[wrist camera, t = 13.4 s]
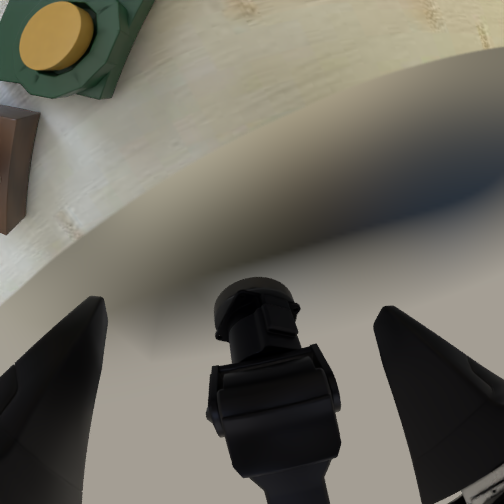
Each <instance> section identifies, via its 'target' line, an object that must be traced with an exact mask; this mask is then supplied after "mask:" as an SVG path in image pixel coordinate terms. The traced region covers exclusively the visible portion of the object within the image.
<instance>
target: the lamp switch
mask: <svg viewBox="0 0 504 504" xmlns="http://www.w3.org/2000/svg"><path fill="white" fill-rule="evenodd" d="M93 32H94V24H93V20H92V18H91V16H90V14H89V13H88V12H87V11H85V10H83V9H82V8H80V7H78V6H76V5H74V4H72V3H70V2H66V1H59V2H54V3H51V4H49V5H47V6H45V7H43V8H42V9H40V10H39V11H38V12H37V13H36V14H35V15H34V16H33V17H32V18H31V19H30V20H29V22H28V23H27V25H26V26H25V28H24V30H23V33H22V36H21V39H20V45H19V51H20V56H21V59H22V61H23V63H24V64H25V65H26V66H27V67H29V68H30V69H33V70H62V69H65V68H67V67H69V66H71V65H72V64H74V63H75V62H76V61H78V60H79V59H80V58H81V57H82V56H83V54H84V53H85V52H86V50H87V49H88V47H89V45H90V43H91V40H92V37H93Z"/></svg>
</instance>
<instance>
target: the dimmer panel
mask: <svg viewBox="0 0 504 504" xmlns="http://www.w3.org/2000/svg"><path fill="white" fill-rule="evenodd" d="M39 116H40V113H39V112H34V111H29V110H25V109H20V108H15V107H10V106H5V105H0V233H2V234H4V235H7V234H8V233H9V232H10V231H11V230H12V229H13V228H14V227H15V226H16V225H17V224H18V223H19V222H20V221H21V220H22V219H24V218H25V215H26V200H27V189H28V179H29V171H30V164H31V157H32V151H33V145H34V140H35V135H36V130H37V125H38V121H39Z"/></svg>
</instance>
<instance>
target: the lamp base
mask: <svg viewBox="0 0 504 504" xmlns="http://www.w3.org/2000/svg"><path fill="white" fill-rule="evenodd" d="M59 1H66V2H70V3H72V4H74V5H76V6H78V7H80V8H82V9H83V10H85V11H87V12H88V13H89V14H90V16H91V18H92V20H93V24H94V32H93V37H92V40H91V43H90V45H89V47H88V49H87V50H86V52H85V53H84V54H83V56H82V57H81V58H80V59H79V60H78V61H76V62H75V63H74V64H72V65H71V66H69V67H67V68H65V69H62V70H33V69H30V68H29V67H27V66H26V65H25V64H24V63H23V61H22V59H21V56H20V51H19V45H20V39H21V36H22V33H23V30H24V28H25V26H26V25H27V23H28V22H29V20H30V19H31V18H32V17H33V16H34V15H35V14H36V13H37V12H38V11H39V10H40V9H42V8H43V7H45V6H47V5H49V4H51V3H54V2H59ZM154 1H155V0H9V3H8V5H7V7H6V9H5V12H4V14H3V16H2V19H1V21H0V81H6V82H14V83H20V84H22V86H23V87H24V88H25V89H26V91H27V92H28V93H29V94H31V95H36V96H41V97H46V98H51V99H54V98H61V97H68V96H71V95H73V94H77V95H82V96H86V97H90V98H94V99H98V100H100V99H107V98H111V97H112V95H113V92H114V90H115V87H116V84H117V82H118V79H119V76H120V74H121V71H122V69H123V66H124V64H125V61H126V59H127V57H128V54H129V52H130V50H131V47H132V45H133V43H134V41H135V39H136V37H137V34H138V32H139V30H140V28H141V26H142V24H143V22H144V20H145V18H146V16H147V14H148V12H149V11H150V9H151V7H152V5H153V3H154Z"/></svg>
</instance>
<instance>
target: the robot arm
mask: <svg viewBox="0 0 504 504" xmlns="http://www.w3.org/2000/svg"><path fill="white" fill-rule="evenodd" d="M241 294H244V295H243V296H240V295H241ZM294 308H296V309H294ZM300 310H301V308H300V305H299V304H298V303H295V302H291V301H287V300H285V299H281V298H277V297H273V296H269V295H265V294H259V293H256V292H252V291H248V290H244V289H241V290H238V291H237V292H236V294H235V296H234V298H233V300H232V302H231V304H230V306H229V308H228V310H227V312H226V314H225V315H224V317H223V319H222V321H221V323H220V325H219V327H218V329H217V331H216V333H215V338H216V339H217V340H219V341H224V342H229V343H230V351H231V359H232V364H229V365H223V366H219V365H217V366H212V372H211V374H210V383H209V397H208V408H207V411H206V417H207V420H209V421H210V422H211V423H213V425H214V427H215V429H216V432H217V434H218V436H219V437H225V439H226V442H227V446H228V450H229V454H230V458H231V460H232V465H233V467H234V469H235V470H236V471H237V472H238V473H239V474H240V475H241V476H242V477H243V478H248V477H249V478H250V479H251V480H252V481H253V482H255V483H256V484H257V485H258V486H259V487H260V488H262V489H263V490H264V492H265V495H266V500H267V503H268V504H330V501H329V497H328V493H327V488H326V484H325V479H324V476H325V474H326V472H327V470H328V467H329V465H330V462H331V460H332V459H333V458H336V457H337V456H338V453H339V450H340V446H341V439H340V433H339V428H338V424H337V419H336V414H335V412H339V411H340V409H341V401H340V394H339V390H338V386H337V382H336V379H335V377H334V374H333V372H332V370H331V368H330V366H329V365H328V363H327V361H326V359H325V358H324V356H323V354H322V352H321V351H320V349H319V347H318V345H317V344H312V345H310V346H309V347H305V348H301V345H300V342H299V339H298V336H297V334H298V329H297V326H296V324H295V321H294V319H295V317H296V316H297V314H298V313H299V311H300ZM107 326H108V317H107V312H106V307H105V302H104V299H103V298H102V297H98V296H89V297H88V298H87V299H86V300H84V301H83V302H82V303H81V304H80V305H78V306H77V307H76V308H75V309H74V310H73V311H71V312H70V313H69V314H68V315H67V316H66V317H64V318H63V319H62V320H61V321H60V322H59V323H58V324H57V325H55V326H54V327H53V328H52V329H51V330H50V331H49V332H48V333H47V334H45V335H44V336H43V337H42V338H41V339H40V340H39V341H38V342H37V343H36V344H34V345H33V347H31V348H30V349H29V350H28V351H27V352H26V353H25V354H24V355H23V356H22V357H21V358H20V359H19V360H17V362H15V365H12V366H11V367H10V368H9V369H8V370H7V371H6V372H5V373H4V374H3V375H2V376H1V377H0V504H82V492H81V491H82V490H83V479H84V469H85V459H86V452H87V445H88V439H89V432H90V426H91V420H92V414H93V409H94V404H95V398H96V393H97V389H98V384H99V380H100V375H101V370H102V363H103V354H104V347H105V339H106V333H107ZM373 327H374V333H375V336H376V341H377V344H378V348H379V352H380V356H381V360H382V364H383V367H384V370H385V373H386V376H387V379H388V382H389V385H390V388H391V391H392V394H393V397H394V400H395V403H396V407H397V410H398V413H399V416H400V419H401V423H402V426H403V430H404V433H405V437H406V440H407V444H408V447H409V451H410V455H411V459H412V462H413V467H414V471H415V475H416V479H417V484H418V488H419V492H420V497H421V502H422V504H434V503H436V502H438V501H440V500H443V499H445V498H447V497H449V496H451V495H453V494H455V493H457V492H458V491H460V490H461V492H462V495H460V496H459V497H457V498H456V499H454V500H453V501H451V502H450V503H448V504H504V380H503V379H502V378H500V377H499V376H497V375H495V374H494V373H492V372H491V371H489V370H488V369H486V368H484V367H483V366H482V365H480V364H478V363H477V362H476V361H474V360H473V359H471V358H470V357H469V356H467V355H466V354H464V353H463V352H461V351H460V350H459V349H457V348H456V347H454V346H453V345H451V344H450V343H448V342H447V341H446V340H444V339H442V338H441V337H440V336H438V335H437V334H435V333H434V332H432V331H431V330H429V329H428V328H426V327H425V326H423V325H422V324H421V323H419V322H418V321H416V320H415V319H413V318H412V317H410V316H409V315H407V314H406V313H404V312H403V311H401V310H399V309H398V308H396V307H395V306H384V307H383V308H382V309H381V311H380V313H379V315H378V316H377V318H376V320H375V322H374V326H373ZM220 335H221V336H220Z"/></svg>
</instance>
